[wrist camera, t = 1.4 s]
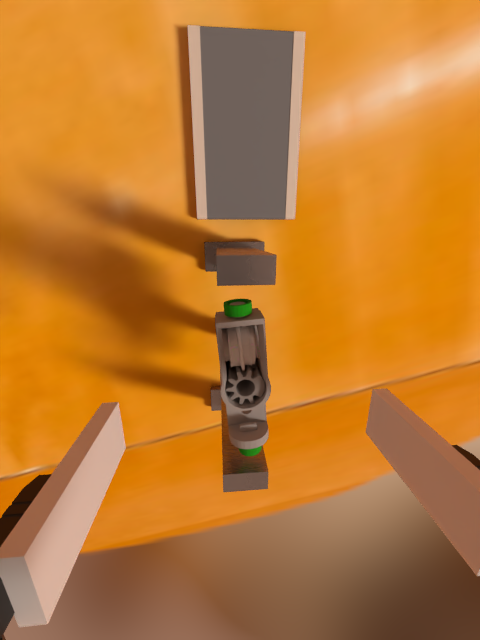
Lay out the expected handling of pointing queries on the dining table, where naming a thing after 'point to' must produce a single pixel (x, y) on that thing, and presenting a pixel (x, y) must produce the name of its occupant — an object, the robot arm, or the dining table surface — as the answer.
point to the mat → (245, 120)
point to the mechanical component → (243, 373)
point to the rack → (238, 470)
